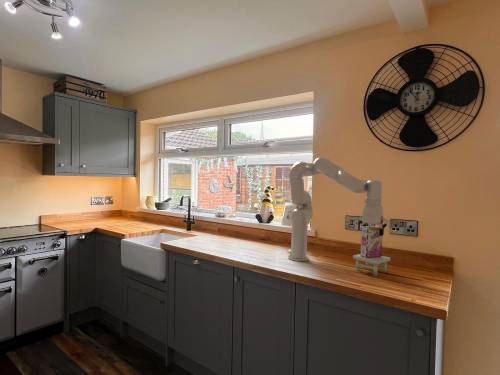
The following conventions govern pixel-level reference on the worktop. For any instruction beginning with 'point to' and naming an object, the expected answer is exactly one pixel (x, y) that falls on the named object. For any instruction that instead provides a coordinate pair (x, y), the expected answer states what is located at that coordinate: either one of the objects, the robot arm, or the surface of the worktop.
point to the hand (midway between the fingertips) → (372, 234)
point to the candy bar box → (371, 242)
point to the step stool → (374, 260)
